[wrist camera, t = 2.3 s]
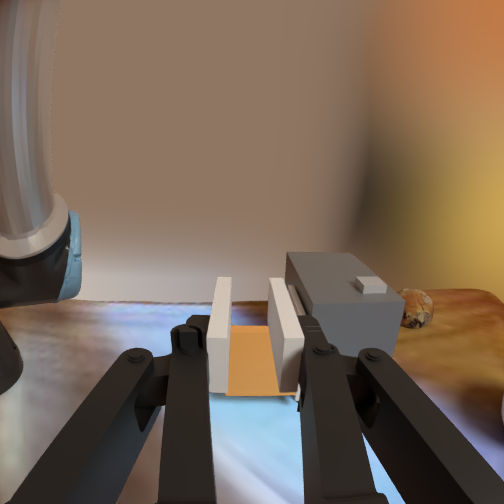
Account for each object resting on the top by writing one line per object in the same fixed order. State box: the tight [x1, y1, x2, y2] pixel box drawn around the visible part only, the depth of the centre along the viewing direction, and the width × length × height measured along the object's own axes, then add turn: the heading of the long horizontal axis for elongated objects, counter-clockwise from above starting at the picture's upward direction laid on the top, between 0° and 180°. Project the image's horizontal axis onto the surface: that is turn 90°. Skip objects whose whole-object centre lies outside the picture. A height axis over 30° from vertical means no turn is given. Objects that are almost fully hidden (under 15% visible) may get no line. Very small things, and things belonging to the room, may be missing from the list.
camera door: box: [225, 285, 306, 401], centre depth 38 cm, size 9×12×10 cm
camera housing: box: [285, 252, 406, 358], centre depth 44 cm, size 11×22×15 cm, turn 2°
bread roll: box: [397, 289, 434, 328], centre depth 57 cm, size 10×10×8 cm
